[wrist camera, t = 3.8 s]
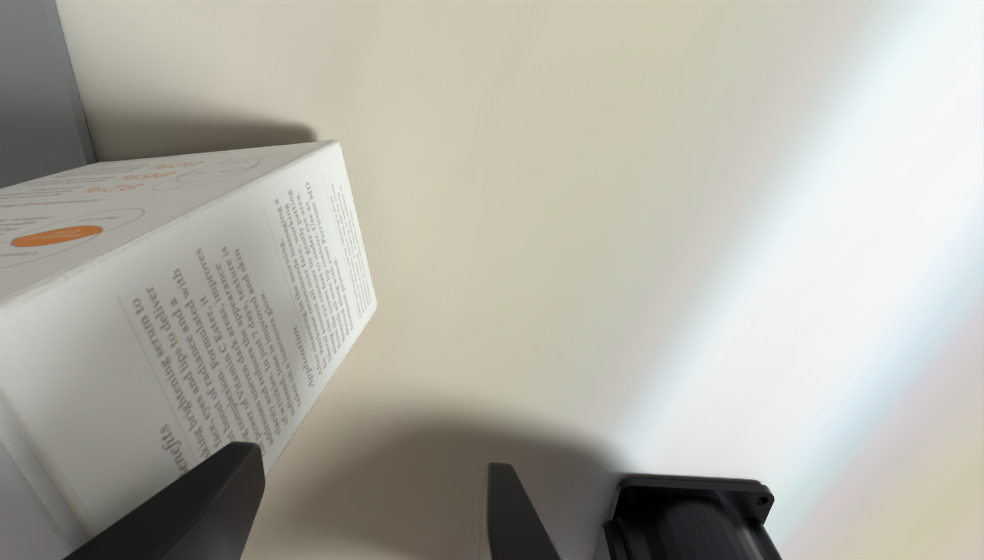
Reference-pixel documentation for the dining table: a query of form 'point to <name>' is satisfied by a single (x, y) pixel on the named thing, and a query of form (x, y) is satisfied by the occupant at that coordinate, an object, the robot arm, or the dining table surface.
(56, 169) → the mat
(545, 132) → the dining table surface
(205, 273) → the small box
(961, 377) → the dining table surface
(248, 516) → the robot arm
